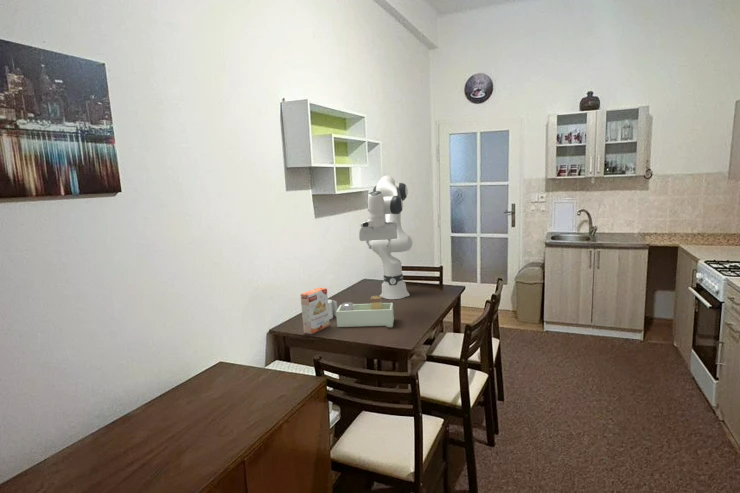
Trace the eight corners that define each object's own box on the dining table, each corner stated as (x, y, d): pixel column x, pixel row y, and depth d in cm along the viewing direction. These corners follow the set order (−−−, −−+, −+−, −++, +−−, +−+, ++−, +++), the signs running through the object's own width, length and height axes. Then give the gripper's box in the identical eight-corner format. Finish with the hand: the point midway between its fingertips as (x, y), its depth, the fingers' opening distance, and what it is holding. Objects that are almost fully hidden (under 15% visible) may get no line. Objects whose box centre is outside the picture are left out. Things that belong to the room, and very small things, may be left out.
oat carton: (373, 320, 230) (371, 296, 228) (382, 319, 229) (381, 295, 227) (372, 323, 225) (370, 298, 223) (382, 323, 224) (380, 298, 222)
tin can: (344, 320, 232) (342, 302, 231) (355, 320, 231) (353, 302, 230) (342, 324, 226) (340, 306, 225) (353, 324, 226) (352, 305, 224)
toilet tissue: (311, 319, 243) (309, 301, 241) (331, 314, 248) (329, 297, 246) (317, 324, 233) (316, 305, 232) (338, 319, 239) (337, 301, 237)
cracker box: (312, 336, 216) (308, 294, 212) (303, 334, 219) (299, 293, 216) (330, 327, 227) (327, 287, 224) (321, 325, 230) (318, 286, 227)
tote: (341, 321, 236) (340, 304, 234) (393, 319, 232) (392, 302, 231) (337, 328, 224) (336, 311, 222) (392, 327, 220) (391, 309, 219)
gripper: (397, 220, 235) (398, 246, 237) (359, 222, 237) (361, 248, 239) (396, 221, 228) (398, 248, 231) (357, 224, 231) (359, 250, 233)
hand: (379, 248), depth 235 cm, fingers open, 8 cm apart
